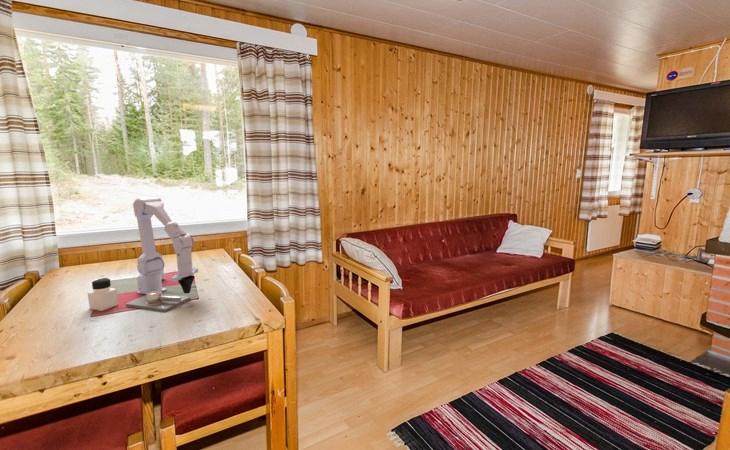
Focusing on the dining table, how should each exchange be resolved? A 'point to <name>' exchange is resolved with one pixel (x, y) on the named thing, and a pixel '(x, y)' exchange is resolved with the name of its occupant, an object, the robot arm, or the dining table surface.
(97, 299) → the medicine bottle
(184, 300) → the board
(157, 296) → the tan piece
